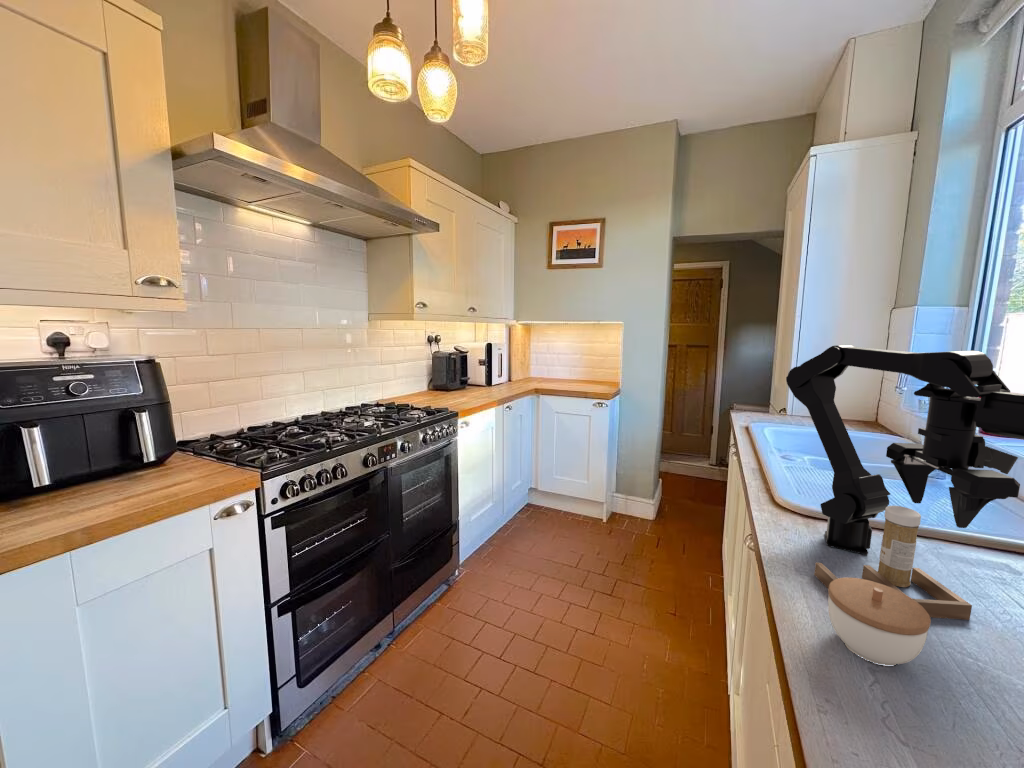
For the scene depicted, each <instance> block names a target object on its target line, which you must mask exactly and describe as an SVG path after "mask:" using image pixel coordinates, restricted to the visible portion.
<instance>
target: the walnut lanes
mask: <svg viewBox="0 0 1024 768" xmlns="http://www.w3.org/2000/svg"><path fill="white" fill-rule="evenodd" d="M814 566H815V567H814V575H813V576H814V577H816V579H817V580H818V581H820V582H821V584H822V585H823V586H824V587H825V588H826V589H827V590H828V589H829V584H830V583H831V582H832V581H833V580H835V579H838V577H837V576H836V575H835V574H834V573H833V572H832V571H831V570H830V569H828V567H826V566H825V564H823V563H822V562H815V564H814ZM862 566H863V567H862V574H861V579H865V580H870V581H873V582H877V583H880V584H883V585H886V586H888V587H891V588H893V589H895V590H898V591H900V592H901V593H903V594H905V595H907V594H906V593H904V592H903V591H902V590H901V589H900V588H899V587H898V586H894V585H893V584H892V583H891V582H889V581H888V580H887V579H886V578H884V577H883V576H882V575H881V574H880V573H878V572H877V571H878V570H876V569H874V567H872V566H871V565H868V564H864V565H862ZM910 582H912V583H914V584H915V585H916V586H917V587H919V588H920V589H921V590H922V591H924V592H925V593H927V594H928V595H929V596H930V597H932V598H933V599H925V598H923V599H922V598H912V599H913V600H915V601H916V602H917V603H919V604H920V605H921V606H922V607H923V608H924V609H925V610H926V611H927V613H928V614H929V616H930V618H934V619H947V618H948V619H950V620H961V621H962V620H966V621H971V620H970V619H971V615H972V608H973V605H972V604H971V603H969V602H968V601H967V600H965V599H963V598H962V597H961V596H959V595H958V594H957V593H955V592H953V591H952V590H951V589H949V588H948V587H947V586H945V585H943V584H942V583H941V582H939V581H938V580H936V579H935V578H934V577H932V576H931V575H929V574H928V573H927V572H925V571H924V570H922V569H921V568H919V567H912V570H911V576H910Z"/></svg>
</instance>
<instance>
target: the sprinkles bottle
mask: <svg viewBox="0 0 1024 768" xmlns="http://www.w3.org/2000/svg"><path fill="white" fill-rule="evenodd" d="M884 519H885V521H884V528H883V534H882V539H881V545H880V553H879V561H878V562H879V563H878V570H876V571H877V572H878V573H880V574H881V575H882V576H883V577H884V578H886V579H887V580H888V581H889V582H891V583H892V584H893V585H894V586H896V587H897V588H899V587H900V588H908V587H910V586H911V584H912V583H911V575H912V568H914V567H913V565H914V560H915V553H916V547H917V539H918V538H917V537H918V536H917V535H918V530H919V528H920V526H921V520H922V516H921V514H920V513H919V512H918V511H916V510H914V509H912V508H910V507H909V508H908V507H904V506H902V505H901V506H900V505H888V506H887V507H886V509H885V510H884Z"/></svg>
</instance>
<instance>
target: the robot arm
mask: <svg viewBox="0 0 1024 768" xmlns="http://www.w3.org/2000/svg"><path fill="white" fill-rule="evenodd" d="M849 367H856V368H862V369H868V370H876V371H882V372H883V371H884V372H890V373H898V374H903V375H907V376H910V377H913V378H915V379H917V380H919V381H922V382H926V385H924V386H923V387H922V388H920V389H917V390H915V391H914V392H913V394H914V396H917V397H924V398H929V400H928V409H927V417H926V423H925V427H923V428H922V427H919V428H918V430H917V434H918V435H919V436H924V439H923V444H921V443H915V442H914V443H909V442H892V443H891V444H889V445H888V446H887V447H886V454H885V457H887V458H889V459H890V463H891V464H893V466H894V468H895V470H896V471H897V473H898V475H899V477H900V479H901V481H902V483H903V484H904V485H903V486H904V487H905V489H906V491H907V493H908V495H909V497H910V500H911V502H912V503H914V504H921V503H922V501H923V500H924V499H923V498H924V495H925V491H926V487H927V482H928V479H929V475H930V474H931V473H933V472H934V471H936V470H938V471H940V472H942V473H945V474H947V475H949V476H950V482H951V483H952V485H953V486H948V491H949V497H950V502H951V507H952V513H953V517H954V521H955V525H956V527H957V528H959V529H966V528H967V527H968V526H969V525H970V524H971V523H972V521H973V520H974V519H975V518H976V517H977V515H978V514H979V513H980V511H981V510H982V509H984V507H986V505H987V504H989V503H990V502H992V501H995V500H1006V499H1008V498H1018V497H1019V496H1020V495H1019V494H1020V488H1021V484H1020V482H1018V480H1016V479H1015V478H1014V477H1012V476H1010V475H1008V474H1009V473H1010V471H1011V470H1012V468H1013V467H1014V465H1015V463H1016V462H1017V460H1018V459H1019V457H1018V456H1015V455H1012V454H1010V453H1006V452H1004V451H1001V450H998V449H995V448H992V447H990V446H986V440H985V438H984V436H982V435H979V434H976V433H977V428H980V430H981V431H983V432H984V433H985V434H991V435H996V436H1002V437H1006V438H1007V437H1008V438H1011V439H1012V438H1013V439H1018V440H1024V393H1016V392H1011V390H1010V389H1009V387H1008V386H1007V385H1006V384H1005V383H1004V382H1003V380H1002V379H1001V378H1000V376H999V375H997V372H995V371H994V365H993V362H992V360H991V359H990V357H988V356H987V354H986V353H984V352H982V351H978V350H956V351H955V350H953V351H936V352H933V351H932V352H912V351H904V350H892V349H882V348H872V347H871V348H870V347H861V346H854V345H852V344H842V345H841V344H840V345H832V346H829V347H828V348H826V349H825V350H824V351H823V352H821V353H820V354H818V355H816V356H814V357H812V358H810V359H808V360H806V361H804V362H802V363H801V364H800V365H799V366H794V367H792V368H791V369H790V370H789V371H788V372H787V373H788V374H787V376H786V377H785V381H786V385H787V387H788V388H789V390H790V392H791V393H792V394H793V397H794V398H796V400H797V401H799V402H800V403H801V404H802V405H803V406H805V407H806V409H807V410H808V413H809V416H810V418H811V420H812V422H813V425H814V427H815V431H817V432H816V433H817V435H818V437H819V439H820V442H821V444H822V447H823V449H824V451H825V455H826V456H827V459H828V460H829V461H828V462H829V463H830V465H831V468H832V471H833V477H832V486H831V489H832V494H833V498H830V499H829V500H827V501H824V502H822V503H820V509H821V514H822V515H824V516H826V517H828V518H827V526H826V530H825V531H824V535H825V542H826V543H825V544H826V546H828V547H830V548H836V549H840V550H844V551H848V552H853V553H857V554H861V555H866V556H867V555H868V553H869V552H868V550H869V549H871V542H872V537H873V536H872V534H873V529H872V527H871V526H872V525H870V521H869V519H874V518H876V517H877V516H879V515H878V514H880V513H882V512H885V509H886V507H887V506H890V499H889V496H891V493H890V492H889V490H888V489H887V488H886V486H885V483H884V482H885V481H884V479H883V476H882V475H881V474H878V473H876V474H873V475H872V474H871V472H869V471H868V470H866V469H865V468H864V466H863V464H862V462H861V460H860V457H859V455H858V453H857V450H856V448H855V446H854V443H853V441H852V439H851V437H850V434H849V433H848V430H847V428H846V426H845V424H844V421H843V419H842V416H841V413H840V412H839V409H838V407H837V406H836V403H835V396H836V391H837V386H836V382H835V380H836V379H837V378H838V377H840V376H841V375H843V374H844V373H845V371H846V370H847V369H848V368H849ZM984 467H985V468H989V469H984ZM970 468H972V469H970ZM973 468H975V469H973ZM992 469H994V470H992ZM995 470H998V471H1000V472H998V471H995Z"/></svg>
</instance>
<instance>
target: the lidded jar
mask: <svg viewBox="0 0 1024 768" xmlns="http://www.w3.org/2000/svg"><path fill="white" fill-rule="evenodd" d="M837 578H838V577H837ZM827 590H828V602H827V606H828V607H827V608H828V617H829V619H830V620H829V621H830V622H831V625H832V627H833V630H834V631H835V633H836V634H837V636H838V637H839V639H840V640H841V641H842V642H843V643H845V644H844V645H845V647H846V648H847V649H848V650H849V651H850V652H851V651H852V652H851V653H853V654H854V653H855V654H857V655H859V656H860V657H863V658H864V659H866V660H869V661H871V662H874V663H878V664H885V665H896V664H898V665H902V664H907V663H909V662H911V661H913V660H914V659H915V658H917V656H919V655H920V653H921V652H922V651H923V648H924V647H925V644H926V642H927V638H928V631H929V629H930V627H931V617H930V616H929V614H928V613H927V611H926V610H925V609H924V608H923V607H922V606H921V605H920V604H919V603H917V602H916V601H915V600H913V599H914V598H912V597H910V595H907V594H906V593H904V592H903V593H904V594H903V593H901V592H900V591H898V590H895V589H893V588H891V587H888V586H886V585H883V584H880V583H877V582H873V581H870V580H865V579H863V578H859V577H839V578H838V579H835V580H833V581H832V582H831V583H830V584H829V589H827ZM905 594H906V595H905ZM855 654H854V655H855ZM857 655H856V656H857ZM860 657H859V658H860ZM864 659H863V660H864ZM866 660H865V661H866ZM896 666H897V665H896Z"/></svg>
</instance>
